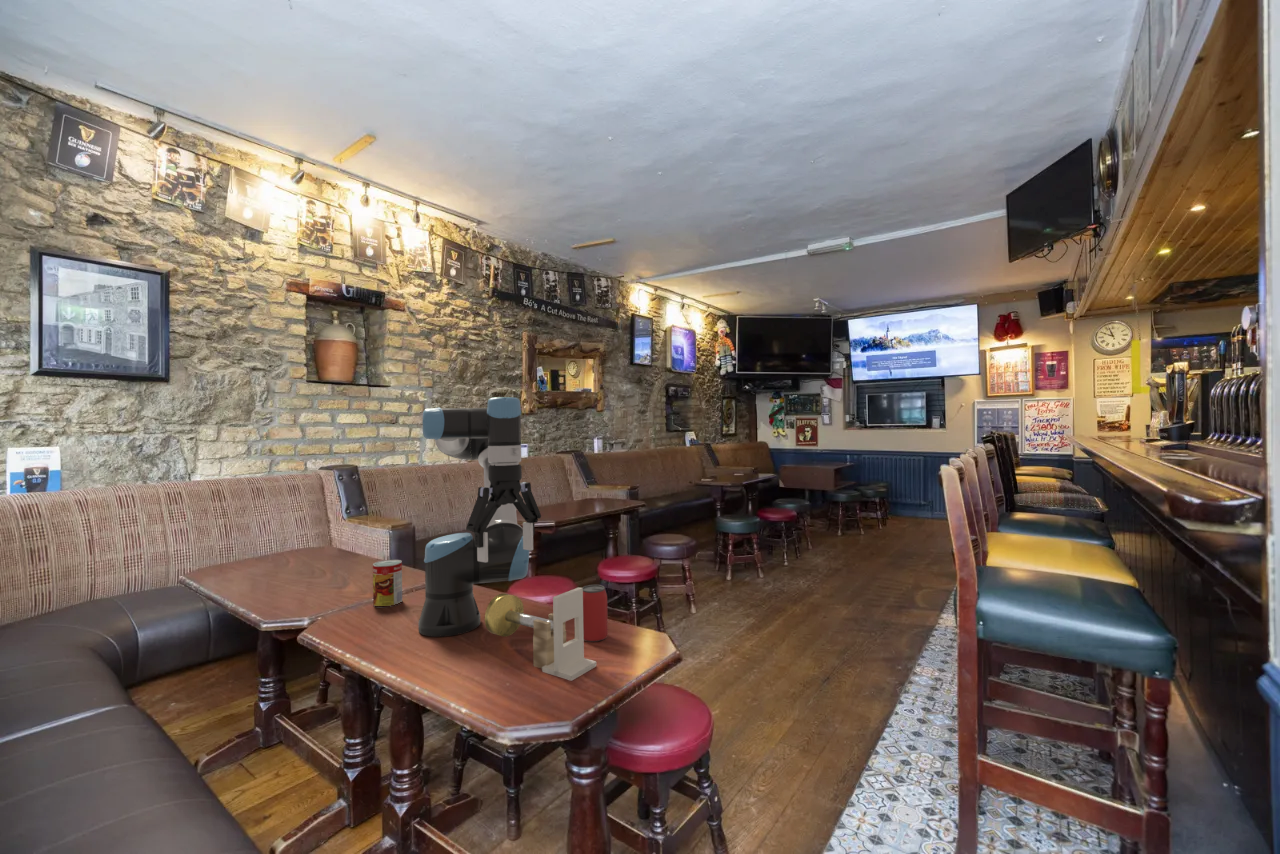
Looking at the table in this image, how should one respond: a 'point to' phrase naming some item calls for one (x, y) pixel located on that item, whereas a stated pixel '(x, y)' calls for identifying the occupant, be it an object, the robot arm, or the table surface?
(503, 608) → the gold disc on rod
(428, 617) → the robot arm
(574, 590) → the beige slotted stand
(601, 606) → the beer can
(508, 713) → the table surface
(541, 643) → the cradle
